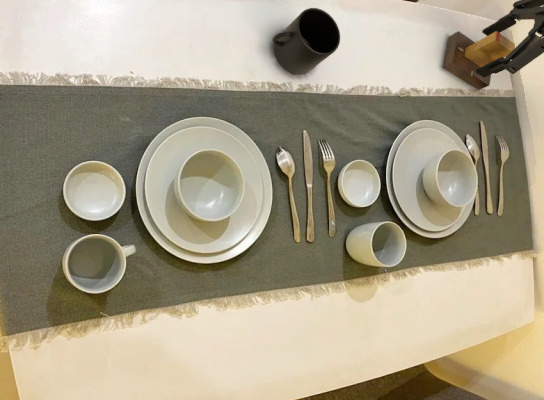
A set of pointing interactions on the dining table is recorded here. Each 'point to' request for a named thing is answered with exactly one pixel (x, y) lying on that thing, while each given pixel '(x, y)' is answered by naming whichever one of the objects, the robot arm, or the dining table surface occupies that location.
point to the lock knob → (489, 49)
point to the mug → (307, 41)
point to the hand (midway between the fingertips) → (483, 53)
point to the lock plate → (463, 61)
